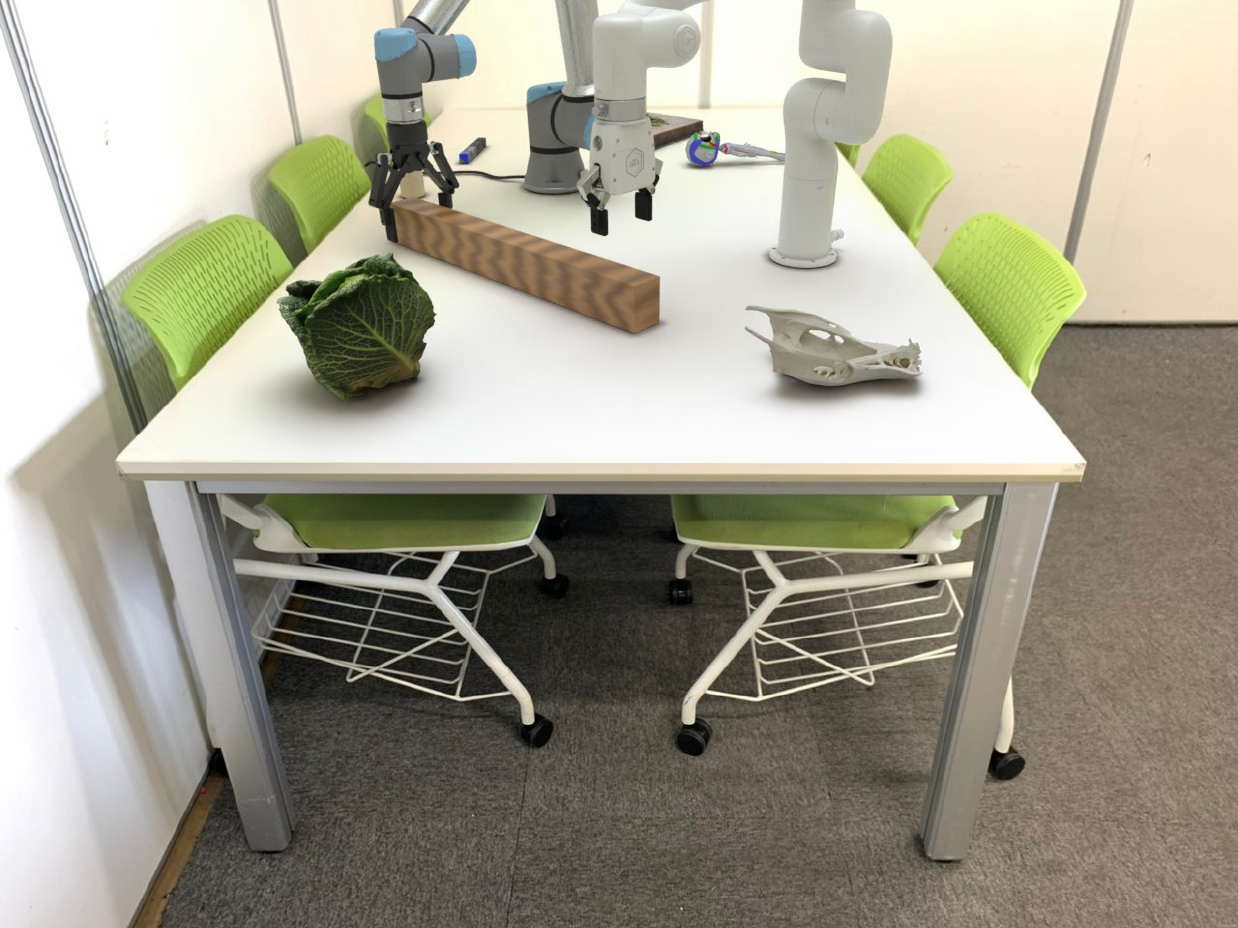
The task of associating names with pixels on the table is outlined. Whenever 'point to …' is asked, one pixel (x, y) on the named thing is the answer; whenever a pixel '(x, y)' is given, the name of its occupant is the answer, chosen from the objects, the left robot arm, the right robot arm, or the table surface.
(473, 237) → the bar
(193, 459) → the table surface
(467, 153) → the grey and blue rod
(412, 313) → the vegetable
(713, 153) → the toy
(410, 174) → the candle
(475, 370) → the table surface
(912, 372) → the anatomical model
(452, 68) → the left robot arm
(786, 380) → the table surface
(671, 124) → the plaque
